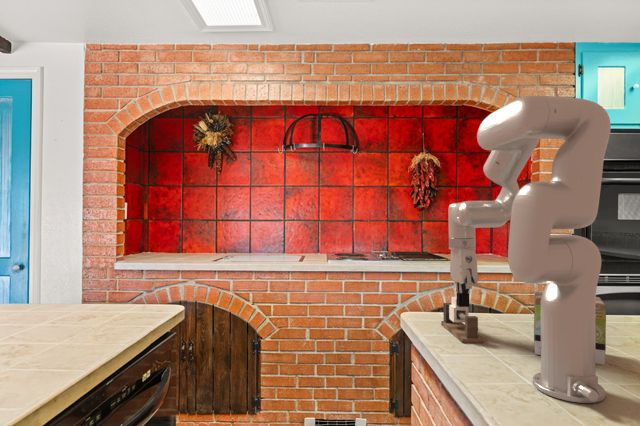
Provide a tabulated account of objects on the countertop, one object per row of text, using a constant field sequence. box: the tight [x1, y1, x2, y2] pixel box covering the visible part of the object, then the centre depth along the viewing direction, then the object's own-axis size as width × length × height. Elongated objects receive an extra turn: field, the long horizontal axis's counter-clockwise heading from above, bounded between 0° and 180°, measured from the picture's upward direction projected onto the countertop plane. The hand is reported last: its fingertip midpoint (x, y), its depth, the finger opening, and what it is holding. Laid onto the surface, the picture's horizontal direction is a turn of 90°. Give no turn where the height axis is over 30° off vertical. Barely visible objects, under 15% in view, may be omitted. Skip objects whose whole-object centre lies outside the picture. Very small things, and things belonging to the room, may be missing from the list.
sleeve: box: [449, 296, 469, 323], centre depth 121 cm, size 4×4×7 cm
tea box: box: [533, 291, 607, 366], centre depth 102 cm, size 15×10×15 cm, turn 62°
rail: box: [441, 302, 485, 344], centre depth 120 cm, size 18×6×7 cm, turn 1°
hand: (463, 306), depth 118 cm, fingers closed
